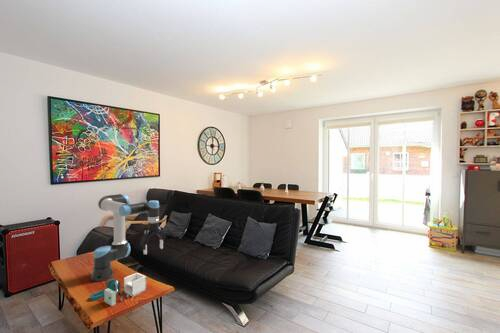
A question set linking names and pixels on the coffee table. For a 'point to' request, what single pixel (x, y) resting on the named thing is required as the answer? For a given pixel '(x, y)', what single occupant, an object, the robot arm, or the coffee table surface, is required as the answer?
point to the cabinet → (134, 284)
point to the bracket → (109, 285)
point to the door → (110, 296)
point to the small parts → (120, 291)
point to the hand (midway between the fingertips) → (153, 251)
